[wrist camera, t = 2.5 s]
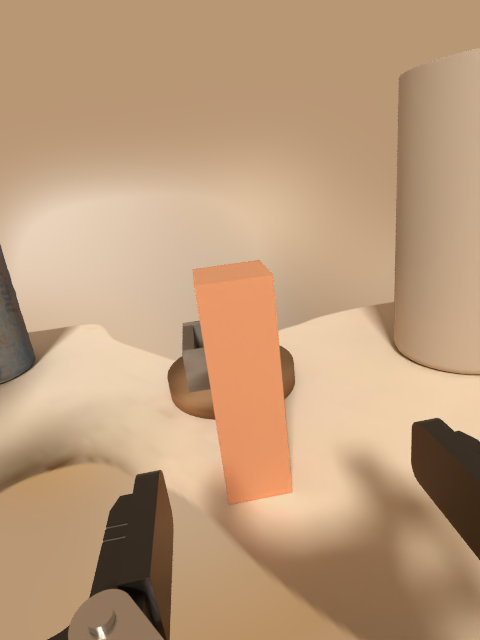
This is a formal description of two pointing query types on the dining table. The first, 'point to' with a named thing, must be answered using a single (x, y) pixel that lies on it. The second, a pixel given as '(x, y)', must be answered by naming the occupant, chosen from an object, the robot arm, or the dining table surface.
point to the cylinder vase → (439, 214)
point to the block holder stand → (206, 375)
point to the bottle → (12, 330)
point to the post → (245, 377)
